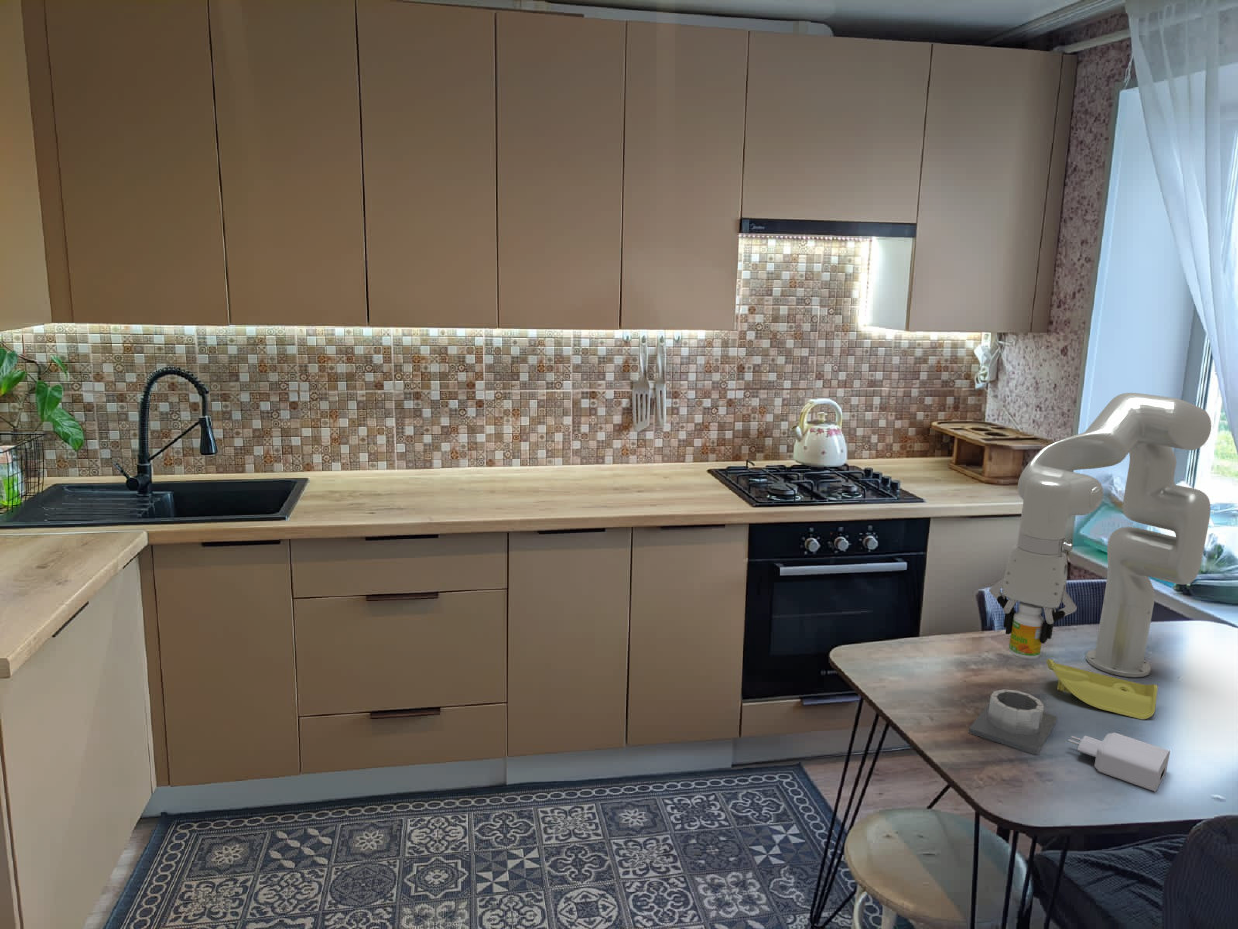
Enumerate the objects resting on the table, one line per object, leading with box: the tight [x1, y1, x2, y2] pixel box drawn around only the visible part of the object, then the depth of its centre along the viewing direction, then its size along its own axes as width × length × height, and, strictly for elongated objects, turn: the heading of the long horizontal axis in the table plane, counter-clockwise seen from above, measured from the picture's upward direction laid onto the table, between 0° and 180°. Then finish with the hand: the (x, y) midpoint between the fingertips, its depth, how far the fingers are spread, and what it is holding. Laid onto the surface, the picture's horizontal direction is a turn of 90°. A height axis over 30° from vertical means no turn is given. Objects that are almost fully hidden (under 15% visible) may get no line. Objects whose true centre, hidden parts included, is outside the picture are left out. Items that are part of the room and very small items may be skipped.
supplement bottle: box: [1008, 602, 1045, 660], centre depth 167 cm, size 5×5×10 cm
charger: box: [1068, 732, 1171, 792], centre depth 159 cm, size 5×9×15 cm
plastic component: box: [1046, 658, 1158, 720], centre depth 185 cm, size 20×7×10 cm
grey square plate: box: [968, 688, 1058, 756], centre depth 171 cm, size 16×12×6 cm
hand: (1026, 635), depth 168 cm, fingers closed on supplement bottle, 5 cm apart
